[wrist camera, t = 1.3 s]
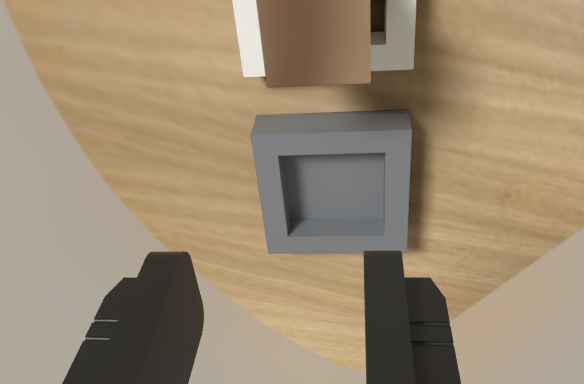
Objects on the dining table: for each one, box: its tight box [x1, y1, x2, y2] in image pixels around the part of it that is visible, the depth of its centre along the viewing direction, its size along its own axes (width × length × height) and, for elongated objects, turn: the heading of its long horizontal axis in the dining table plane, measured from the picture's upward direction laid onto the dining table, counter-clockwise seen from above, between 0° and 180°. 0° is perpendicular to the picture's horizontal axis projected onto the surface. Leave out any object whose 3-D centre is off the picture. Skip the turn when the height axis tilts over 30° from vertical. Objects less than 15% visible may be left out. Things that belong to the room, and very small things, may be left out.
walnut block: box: [256, 0, 371, 88], centre depth 26 cm, size 4×4×9 cm
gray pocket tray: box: [251, 110, 412, 254], centre depth 36 cm, size 10×10×2 cm
